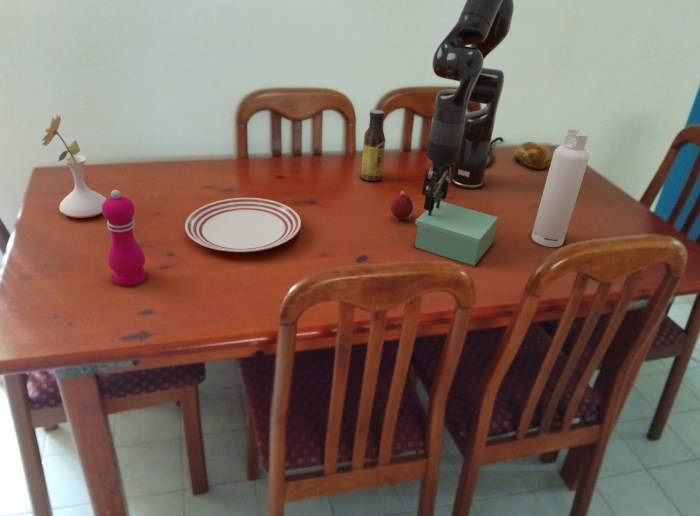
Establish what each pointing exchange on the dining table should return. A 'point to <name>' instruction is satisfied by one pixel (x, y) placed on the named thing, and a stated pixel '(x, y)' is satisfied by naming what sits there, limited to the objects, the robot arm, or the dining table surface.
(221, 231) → the dinner plate
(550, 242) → the bottle
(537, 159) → the bread roll
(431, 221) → the box lid
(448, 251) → the teal open box
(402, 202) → the onion
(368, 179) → the sauce bottle
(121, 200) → the pepper mill
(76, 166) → the flower in vase
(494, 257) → the dining table surface
